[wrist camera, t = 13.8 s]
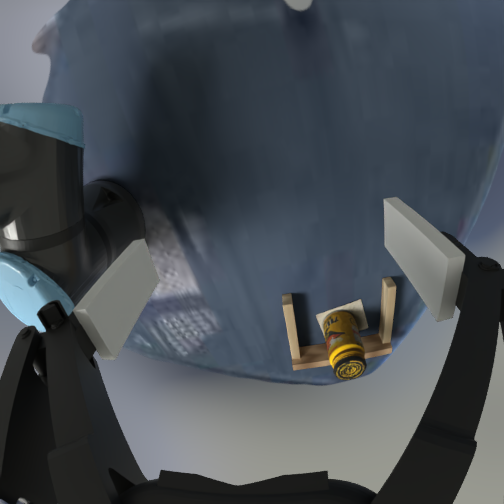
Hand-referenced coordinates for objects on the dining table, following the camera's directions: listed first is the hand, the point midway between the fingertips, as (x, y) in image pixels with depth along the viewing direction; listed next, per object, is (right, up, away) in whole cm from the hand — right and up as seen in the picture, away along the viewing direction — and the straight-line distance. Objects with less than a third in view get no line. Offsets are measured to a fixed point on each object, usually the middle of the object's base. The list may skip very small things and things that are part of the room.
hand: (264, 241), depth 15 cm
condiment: (+16, -13, +36) cm, 41 cm away
